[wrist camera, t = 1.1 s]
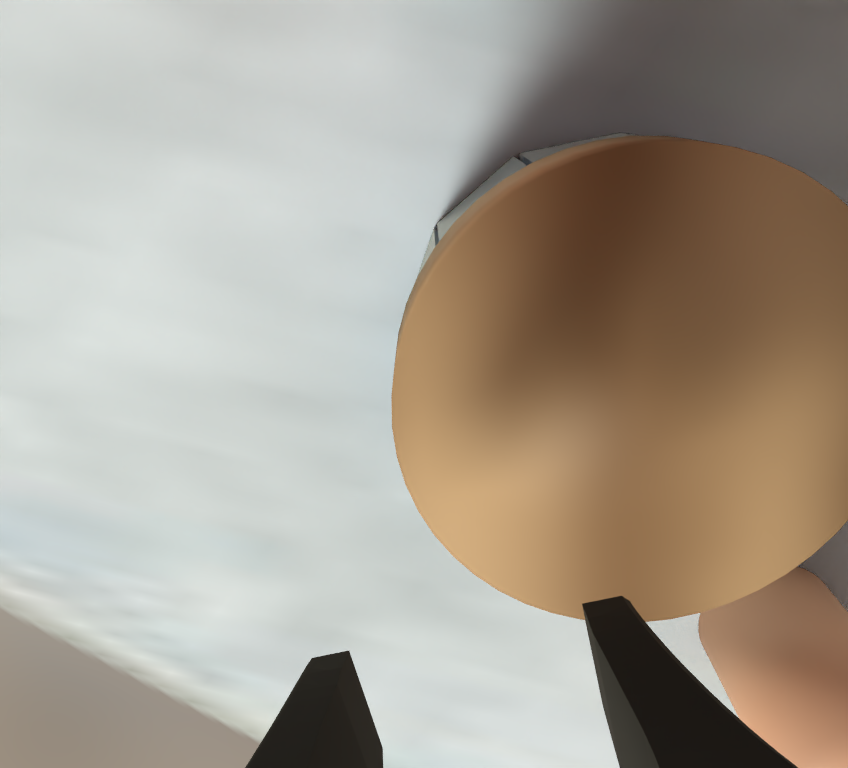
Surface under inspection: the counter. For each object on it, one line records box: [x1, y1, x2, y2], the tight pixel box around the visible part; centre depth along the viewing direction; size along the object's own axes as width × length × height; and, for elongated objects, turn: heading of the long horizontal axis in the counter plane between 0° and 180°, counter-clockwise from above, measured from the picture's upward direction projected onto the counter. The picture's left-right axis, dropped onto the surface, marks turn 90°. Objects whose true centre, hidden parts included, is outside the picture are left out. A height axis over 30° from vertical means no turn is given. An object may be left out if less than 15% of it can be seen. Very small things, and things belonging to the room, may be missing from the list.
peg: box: [699, 566, 848, 768], centre depth 20 cm, size 4×4×6 cm
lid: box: [392, 136, 848, 622], centre depth 16 cm, size 10×10×2 cm
